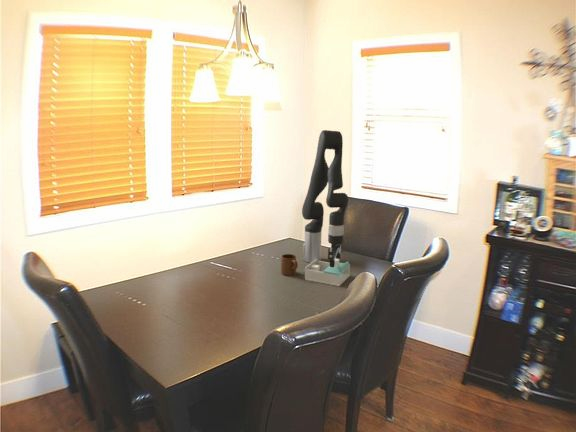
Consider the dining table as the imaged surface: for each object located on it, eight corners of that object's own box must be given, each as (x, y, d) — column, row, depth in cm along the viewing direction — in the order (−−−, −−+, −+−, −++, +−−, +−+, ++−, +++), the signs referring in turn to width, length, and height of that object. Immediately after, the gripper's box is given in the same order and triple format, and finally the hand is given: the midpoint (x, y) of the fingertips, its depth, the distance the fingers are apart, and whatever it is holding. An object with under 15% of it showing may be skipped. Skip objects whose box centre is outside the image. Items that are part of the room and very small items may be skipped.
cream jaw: (330, 267, 222) (330, 260, 221) (332, 265, 225) (332, 257, 224) (336, 268, 220) (337, 261, 219) (339, 266, 223) (339, 259, 222)
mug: (303, 277, 226) (303, 259, 224) (290, 280, 222) (290, 262, 220) (291, 270, 236) (291, 253, 234) (278, 272, 232) (278, 255, 230)
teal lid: (323, 272, 217) (323, 267, 217) (334, 263, 231) (334, 258, 230) (339, 275, 214) (339, 269, 213) (349, 265, 227) (350, 260, 226)
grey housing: (304, 279, 223) (304, 267, 221) (316, 270, 236) (316, 258, 235) (339, 286, 215) (339, 273, 214) (349, 275, 228) (350, 263, 227)
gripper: (334, 228, 226) (333, 259, 230) (323, 235, 214) (322, 267, 218) (348, 230, 223) (346, 261, 227) (338, 237, 211) (337, 270, 214)
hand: (335, 264), depth 222 cm, fingers open, 8 cm apart
